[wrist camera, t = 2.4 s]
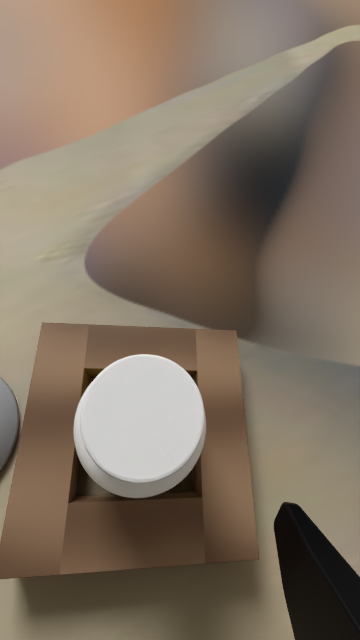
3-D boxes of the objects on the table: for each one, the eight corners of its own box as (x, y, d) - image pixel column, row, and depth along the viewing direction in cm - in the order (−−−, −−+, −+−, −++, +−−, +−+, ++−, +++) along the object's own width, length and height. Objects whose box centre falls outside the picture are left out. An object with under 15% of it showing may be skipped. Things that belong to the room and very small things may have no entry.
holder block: (241, 544, 16) (259, 559, 14) (14, 559, 15) (-7, 579, 13) (225, 343, 21) (236, 330, 19) (52, 337, 20) (42, 322, 17)
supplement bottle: (173, 381, 20) (207, 325, 11) (190, 469, 18) (248, 489, 9) (90, 395, 19) (51, 346, 10) (98, 492, 17) (59, 540, 8)
